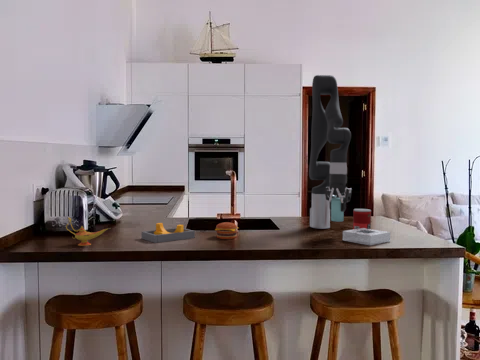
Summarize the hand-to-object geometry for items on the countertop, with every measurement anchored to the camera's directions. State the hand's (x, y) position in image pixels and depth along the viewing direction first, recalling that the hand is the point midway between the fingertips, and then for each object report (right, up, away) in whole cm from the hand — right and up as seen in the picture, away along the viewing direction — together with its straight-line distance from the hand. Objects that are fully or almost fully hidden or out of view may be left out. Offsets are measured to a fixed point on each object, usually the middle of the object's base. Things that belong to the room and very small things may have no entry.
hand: (337, 210), depth 201 cm
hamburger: (-49, -12, -2) cm, 51 cm away
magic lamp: (-104, -12, -20) cm, 107 cm away
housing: (+10, -12, -9) cm, 18 cm away
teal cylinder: (0, -4, 0) cm, 5 cm away
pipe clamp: (-74, -12, -6) cm, 76 cm away
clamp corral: (-75, -12, -5) cm, 76 cm away
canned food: (+14, -11, +12) cm, 22 cm away
